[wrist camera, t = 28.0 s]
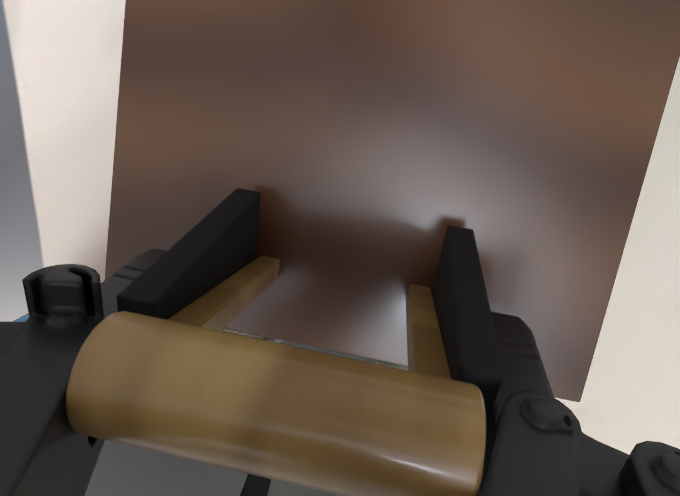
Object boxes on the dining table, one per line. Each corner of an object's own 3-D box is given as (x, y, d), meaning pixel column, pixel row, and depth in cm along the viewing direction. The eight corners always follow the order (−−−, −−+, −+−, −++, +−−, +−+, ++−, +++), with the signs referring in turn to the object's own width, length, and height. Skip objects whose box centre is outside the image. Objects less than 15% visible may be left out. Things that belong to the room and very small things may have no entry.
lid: (571, 391, 17) (836, 748, 6) (115, 297, 18) (-246, 468, 8) (725, -150, 13) (1708, -1094, 3) (156, -211, 15) (-358, -991, 5)
